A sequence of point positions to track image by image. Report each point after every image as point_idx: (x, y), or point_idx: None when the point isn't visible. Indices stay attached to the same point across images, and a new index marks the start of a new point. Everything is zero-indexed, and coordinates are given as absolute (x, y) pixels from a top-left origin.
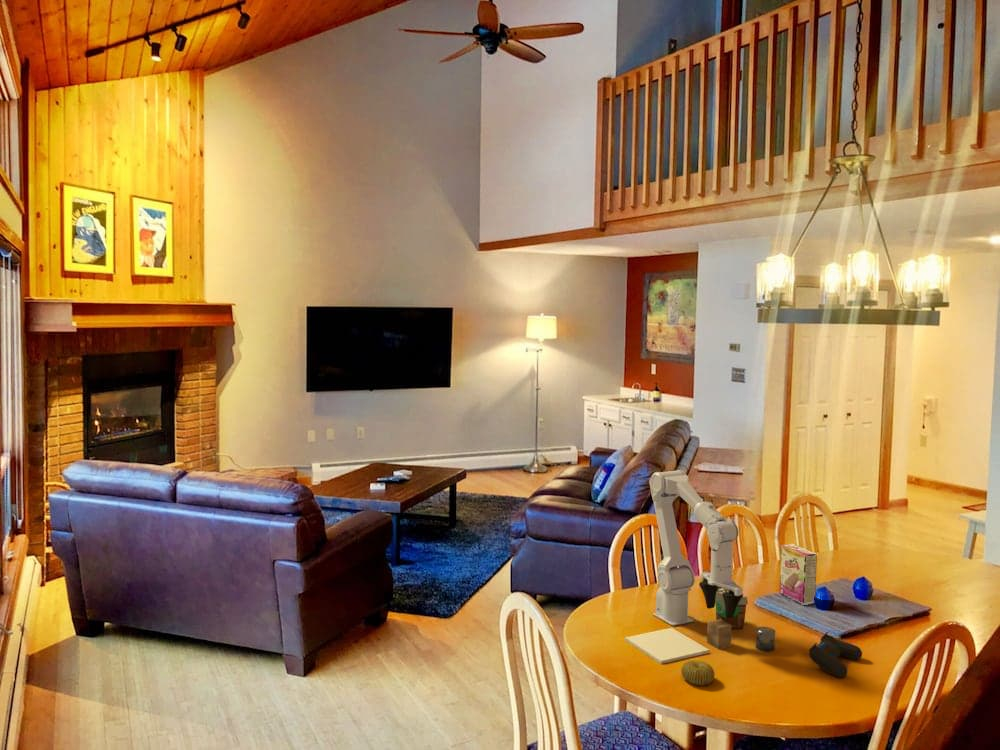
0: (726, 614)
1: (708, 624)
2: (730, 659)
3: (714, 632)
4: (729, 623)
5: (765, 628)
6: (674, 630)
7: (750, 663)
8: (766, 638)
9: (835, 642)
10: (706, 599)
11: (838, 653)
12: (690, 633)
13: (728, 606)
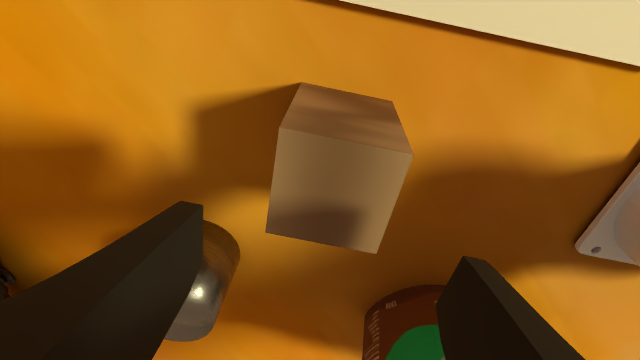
0: (163, 219)
1: (399, 144)
2: (171, 26)
3: (330, 117)
4: (408, 307)
5: (185, 325)
6: (636, 52)
7: (94, 76)
8: None
9: None
10: (535, 336)
11: None
12: (527, 128)
13: (15, 298)
